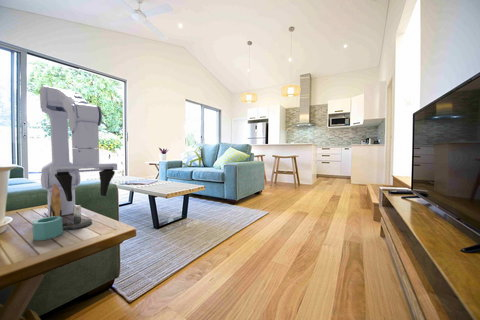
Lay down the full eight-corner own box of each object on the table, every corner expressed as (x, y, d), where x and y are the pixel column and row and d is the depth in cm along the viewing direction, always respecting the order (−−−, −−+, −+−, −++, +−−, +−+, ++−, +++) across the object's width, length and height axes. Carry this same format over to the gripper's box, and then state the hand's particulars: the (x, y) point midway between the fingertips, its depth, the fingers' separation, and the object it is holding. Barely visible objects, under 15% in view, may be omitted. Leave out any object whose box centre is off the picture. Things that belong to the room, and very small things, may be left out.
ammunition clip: (61, 227, 59) (62, 187, 58) (52, 228, 57) (53, 188, 57) (57, 218, 66) (58, 183, 66) (49, 219, 64) (50, 183, 64)
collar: (32, 236, 52) (31, 220, 52) (59, 229, 57) (58, 214, 56) (35, 242, 49) (35, 225, 49) (64, 234, 53) (63, 219, 53)
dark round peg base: (59, 225, 60) (58, 206, 59) (87, 219, 65) (87, 201, 65) (65, 231, 55) (65, 211, 55) (95, 224, 61) (94, 205, 61)
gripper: (53, 148, 45) (55, 206, 46) (121, 149, 57) (122, 195, 57) (46, 148, 49) (48, 201, 50) (111, 148, 61) (112, 192, 61)
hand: (87, 197), depth 54 cm, fingers open, 7 cm apart
